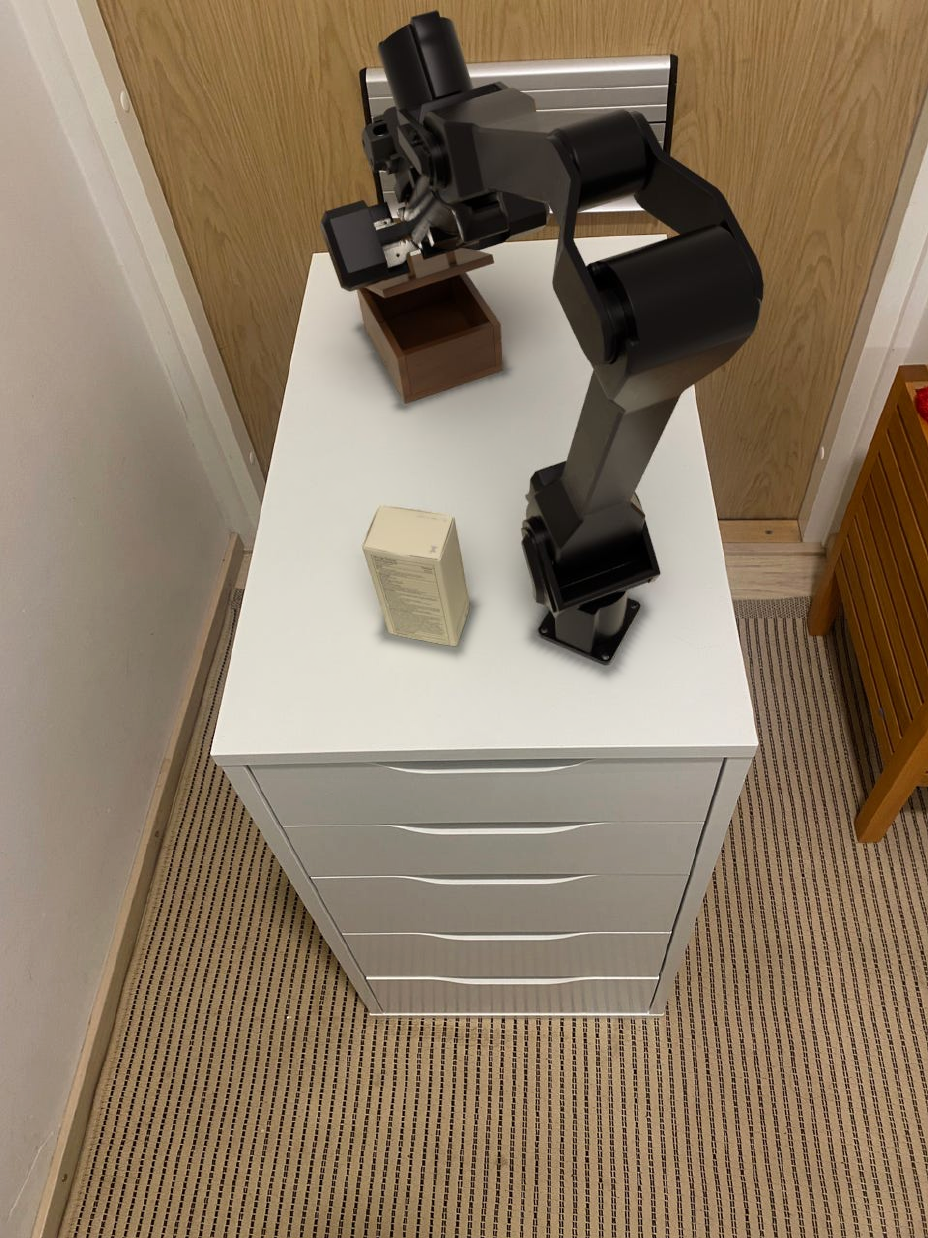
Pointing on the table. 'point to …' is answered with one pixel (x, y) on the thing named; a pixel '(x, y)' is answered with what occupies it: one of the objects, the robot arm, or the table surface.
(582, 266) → the robot arm
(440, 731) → the table surface
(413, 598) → the cosmetic box
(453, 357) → the wooden box
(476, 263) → the lid
